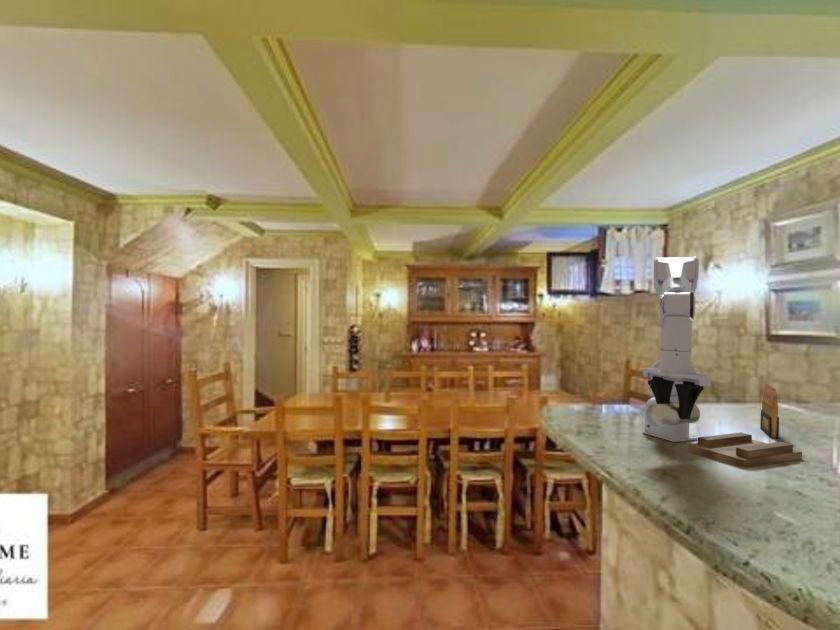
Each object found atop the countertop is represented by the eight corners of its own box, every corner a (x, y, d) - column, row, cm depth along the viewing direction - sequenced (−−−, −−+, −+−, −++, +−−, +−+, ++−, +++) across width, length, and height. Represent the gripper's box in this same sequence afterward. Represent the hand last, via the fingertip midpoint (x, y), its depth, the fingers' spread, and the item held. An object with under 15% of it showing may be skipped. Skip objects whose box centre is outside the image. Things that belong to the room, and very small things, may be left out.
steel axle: (642, 410, 102) (656, 400, 99) (677, 408, 106) (692, 397, 103) (653, 430, 99) (668, 420, 96) (688, 426, 103) (703, 416, 100)
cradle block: (688, 451, 106) (688, 437, 106) (744, 444, 113) (744, 431, 113) (744, 468, 95) (744, 452, 94) (801, 459, 102) (802, 444, 101)
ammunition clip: (778, 438, 119) (780, 389, 118) (769, 437, 119) (770, 388, 119) (768, 429, 128) (769, 383, 128) (760, 428, 129) (761, 383, 129)
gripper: (633, 347, 106) (631, 410, 106) (693, 353, 93) (691, 425, 93) (657, 347, 109) (655, 408, 109) (719, 353, 95) (717, 422, 95)
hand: (674, 416), depth 101 cm, fingers closed on steel axle, 4 cm apart
